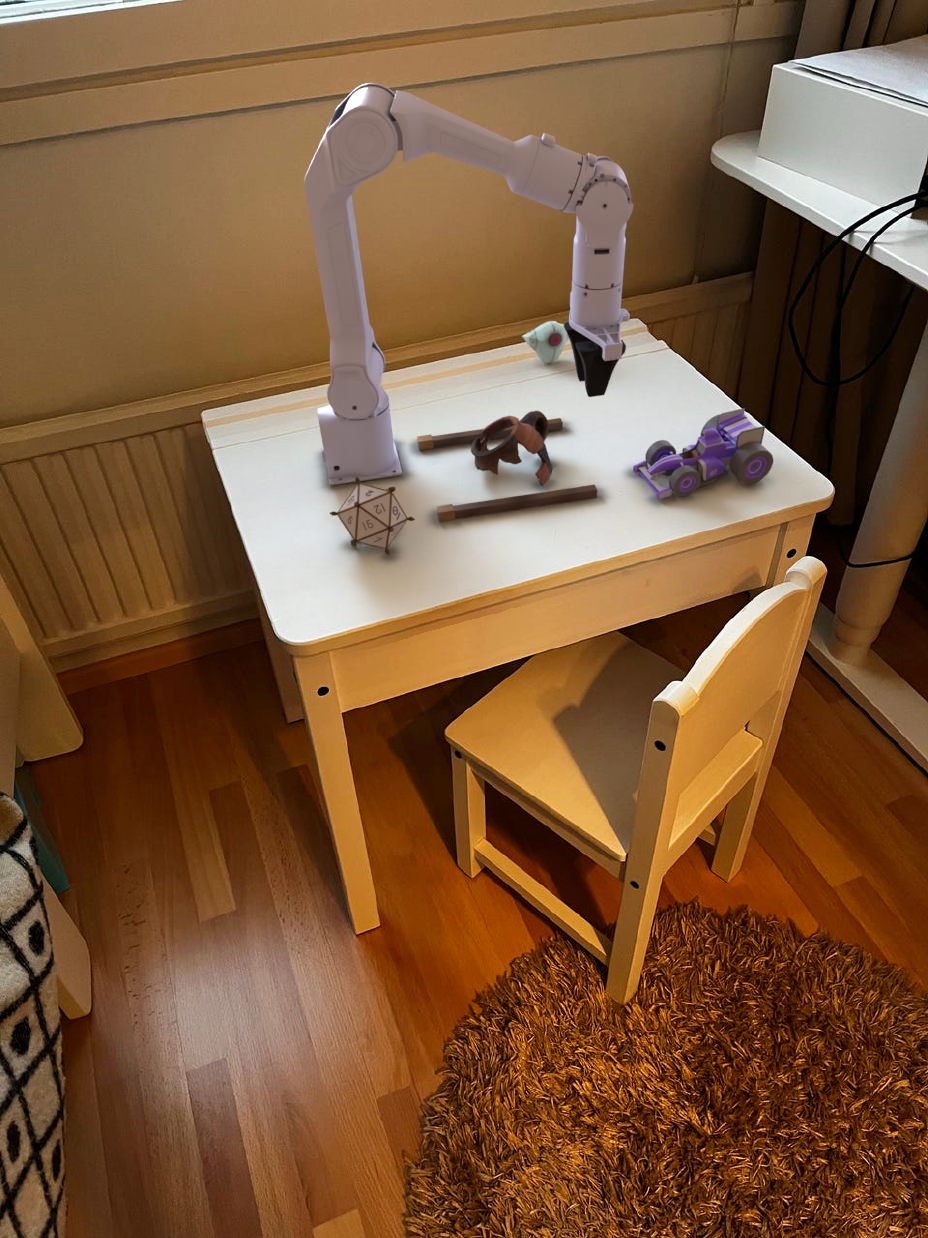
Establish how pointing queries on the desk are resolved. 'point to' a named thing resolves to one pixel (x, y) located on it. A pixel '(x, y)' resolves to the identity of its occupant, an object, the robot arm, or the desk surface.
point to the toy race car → (709, 456)
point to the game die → (372, 516)
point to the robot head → (547, 340)
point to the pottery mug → (514, 444)
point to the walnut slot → (504, 503)
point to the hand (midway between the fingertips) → (591, 386)
